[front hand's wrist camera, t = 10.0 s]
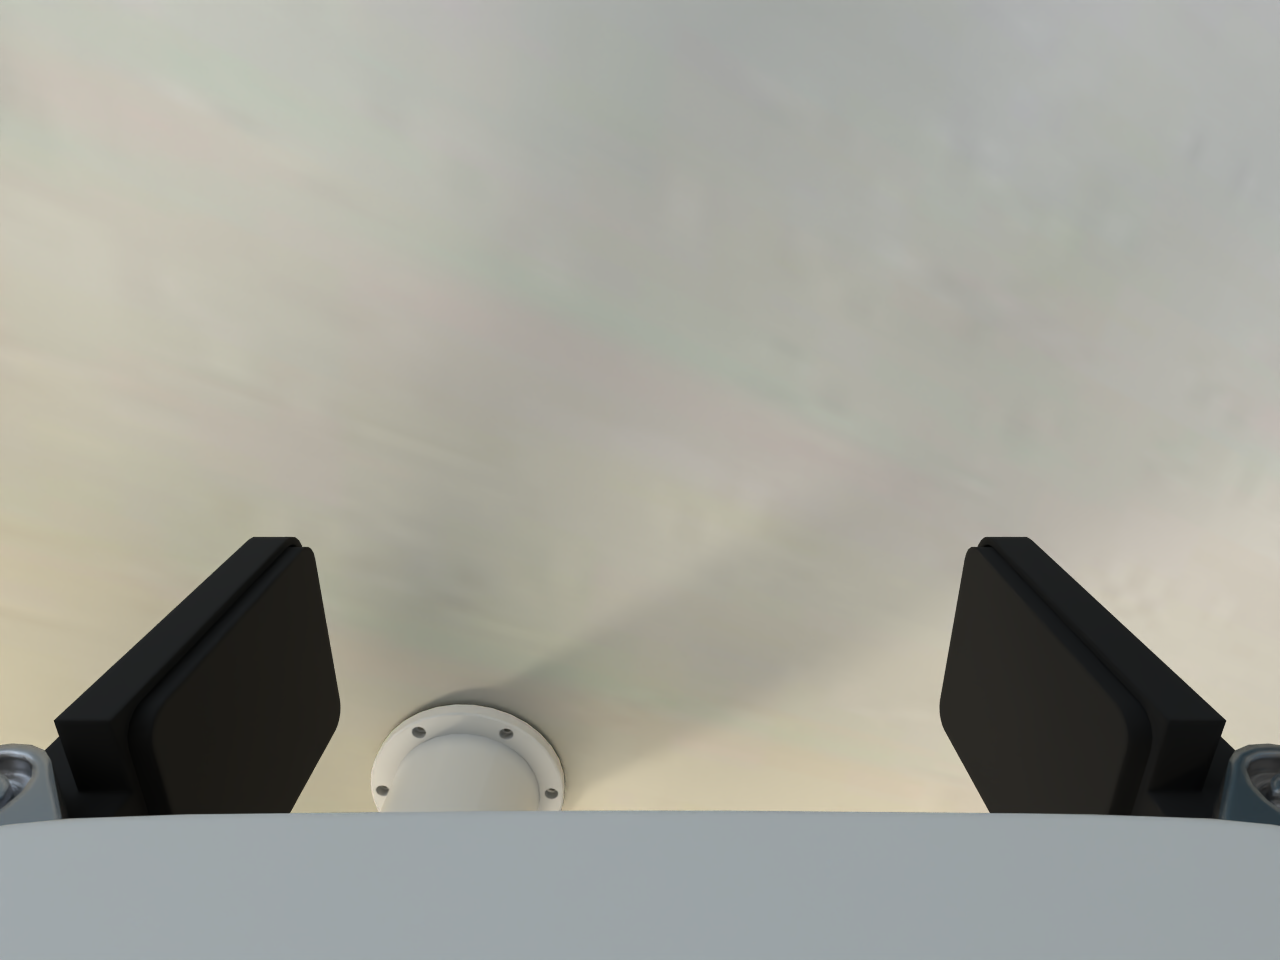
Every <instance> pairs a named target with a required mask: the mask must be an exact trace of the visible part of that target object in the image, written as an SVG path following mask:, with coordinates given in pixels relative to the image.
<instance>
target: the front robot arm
mask: <svg viewBox="0 0 1280 960" xmlns="http://www.w3.org/2000/svg"><path fill="white" fill-rule="evenodd" d="M339 717H340V698H339V692H338V687H337V681H336V675H335V669H334V664H333V658H332V652H331V647H330V641H329V635H328V630H327V624H326V618H325V612H324V607H323V601H322V595H321V590H320V584H319V578H318V572H317V567H316V561H315V557H314V553H313V551H312V549H310V548H309V547H302V545H301V543H300V541H299V540H298V539H297V538H295V537H253V538H251V539H249V540H248V541H247V542H246V543H245V544H244V545H242V546H241V547H240V548H239V549H238V550H237V551H236V552H235V553H234V554H233V555H232V556H231V557H230V558H228V559H227V560H226V561H225V562H224V563H223V564H222V565H221V566H220V567H219V568H218V569H217V570H216V571H214V572H213V573H212V574H211V575H210V576H209V577H208V578H207V579H206V580H205V581H204V582H203V583H202V584H200V585H199V586H198V587H197V588H196V589H195V590H194V591H193V592H192V593H191V594H190V595H189V596H188V597H186V598H185V599H184V600H183V601H182V602H181V603H180V604H179V605H178V606H177V607H176V608H175V609H174V610H172V611H171V612H170V613H169V614H168V615H167V616H166V617H165V618H164V619H163V620H162V621H161V622H160V623H158V624H157V625H156V626H155V627H154V628H153V629H152V630H151V631H150V632H149V633H148V634H147V635H146V636H144V637H143V638H142V639H141V640H140V641H139V642H138V643H137V644H136V645H135V646H134V647H133V648H132V649H130V650H129V651H128V652H127V653H126V654H125V655H124V656H123V657H122V658H121V659H120V660H119V661H117V662H116V663H115V664H114V665H113V666H112V667H111V668H110V669H109V670H108V671H107V672H106V673H105V674H103V675H102V676H101V677H100V678H99V679H98V680H97V681H96V682H95V683H94V684H93V685H92V686H91V687H89V688H88V689H87V690H86V691H85V692H84V693H83V694H82V695H81V696H80V697H79V698H78V699H77V700H75V701H74V702H73V703H72V704H71V705H70V706H69V707H68V708H67V709H66V710H65V711H64V712H63V713H61V714H60V715H59V716H58V717H57V718H56V719H55V720H54V723H55V726H56V728H57V731H58V734H59V737H58V738H57V739H56V740H55V741H54V742H53V743H52V744H51V745H50V746H49V747H48V748H47V749H46V750H42V749H40V748H38V747H35V746H33V745H26V744H5V745H0V960H1280V745H1275V744H1254V745H1247V746H1245V747H1242V748H1240V749H1238V750H1234V749H1233V748H1232V747H1231V746H1230V745H1229V744H1228V743H1227V742H1226V741H1225V740H1224V739H1223V738H1222V737H1221V734H1222V731H1223V728H1224V726H1225V723H1226V720H1225V719H1224V718H1223V717H1222V716H1221V715H1220V714H1219V713H1217V712H1216V711H1215V710H1214V709H1213V708H1212V707H1211V706H1210V705H1209V704H1208V703H1207V702H1206V701H1205V700H1203V699H1202V698H1201V697H1200V696H1199V695H1198V694H1197V693H1196V692H1195V691H1194V690H1193V689H1192V688H1191V687H1189V686H1188V685H1187V684H1186V683H1185V682H1184V681H1183V680H1182V679H1181V678H1180V677H1179V676H1178V675H1177V674H1175V673H1174V672H1173V671H1172V670H1171V669H1170V668H1169V667H1168V666H1167V665H1166V664H1165V663H1164V662H1163V661H1161V660H1160V659H1159V658H1158V657H1157V656H1156V655H1155V654H1154V653H1153V652H1152V651H1151V650H1150V649H1148V648H1147V647H1146V646H1145V645H1144V644H1143V643H1142V642H1141V641H1140V640H1139V639H1138V638H1137V637H1136V636H1134V635H1133V634H1132V633H1131V632H1130V631H1129V630H1128V629H1127V628H1126V627H1125V626H1124V625H1123V624H1122V623H1120V622H1119V621H1118V620H1117V619H1116V618H1115V617H1114V616H1113V615H1112V614H1111V613H1110V612H1109V611H1108V610H1106V609H1105V608H1104V607H1103V606H1102V605H1101V604H1100V603H1099V602H1098V601H1097V600H1096V599H1095V598H1094V597H1092V596H1091V595H1090V594H1089V593H1088V592H1087V591H1086V590H1085V589H1084V588H1083V587H1082V586H1081V585H1080V584H1078V583H1077V582H1076V581H1075V580H1074V579H1073V578H1072V577H1071V576H1070V575H1069V574H1068V573H1067V572H1066V571H1064V570H1063V569H1062V568H1061V567H1060V566H1059V565H1058V564H1057V563H1056V562H1055V561H1054V560H1053V559H1052V558H1050V557H1049V556H1048V555H1047V554H1046V553H1045V552H1044V551H1043V550H1042V549H1041V548H1040V547H1039V546H1038V545H1036V544H1035V543H1034V542H1033V541H1032V540H1031V539H1029V538H1027V537H985V538H983V539H982V540H981V541H980V543H979V545H978V547H971V548H970V549H968V551H967V553H966V557H965V561H964V567H963V572H962V578H961V584H960V590H959V595H958V601H957V607H956V612H955V618H954V624H953V629H952V635H951V641H950V647H949V652H948V658H947V664H946V669H945V675H944V681H943V687H942V692H941V698H940V717H941V722H942V726H943V728H944V730H945V732H946V734H947V736H948V737H949V739H950V741H951V743H952V745H953V747H954V748H955V750H956V752H957V754H958V756H959V757H960V759H961V761H962V763H963V765H964V767H965V768H966V770H967V772H968V774H969V776H970V777H971V779H972V781H973V783H974V785H975V787H976V788H977V790H978V792H979V794H980V796H981V797H982V799H983V801H984V803H985V805H986V807H987V808H988V810H989V812H990V813H915V812H804V811H561V808H562V805H563V799H564V790H565V783H564V773H563V769H562V766H561V763H560V760H559V758H558V756H557V755H556V753H555V751H554V749H553V748H552V746H551V745H550V744H549V743H548V741H547V740H546V739H545V738H544V737H543V736H542V735H541V734H540V733H539V732H538V731H536V730H535V729H534V728H533V727H531V726H530V725H529V724H527V723H526V722H524V721H522V720H520V719H518V718H517V717H515V716H513V715H511V714H508V713H505V712H502V711H500V710H497V709H494V708H489V707H483V706H478V705H458V704H454V705H447V706H440V707H435V708H432V709H429V710H426V711H422V712H419V713H417V714H416V715H414V716H412V717H410V718H408V719H406V720H404V721H403V722H402V723H401V724H400V725H398V726H397V727H396V728H395V729H394V730H392V732H391V733H390V734H389V735H388V737H387V738H386V739H385V741H384V742H383V743H382V746H381V748H380V750H379V752H378V754H377V756H376V758H375V761H374V764H373V768H372V771H371V790H372V795H373V800H374V803H375V805H376V807H377V809H378V812H363V813H290V812H291V810H292V808H293V807H294V805H295V803H296V801H297V799H298V797H299V796H300V794H301V792H302V790H303V788H304V787H305V785H306V783H307V781H308V779H309V777H310V776H311V774H312V772H313V770H314V768H315V767H316V765H317V763H318V761H319V759H320V757H321V756H322V754H323V752H324V750H325V748H326V747H327V745H328V743H329V741H330V739H331V737H332V736H333V734H334V732H335V730H336V728H337V726H338V722H339Z"/></svg>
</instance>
